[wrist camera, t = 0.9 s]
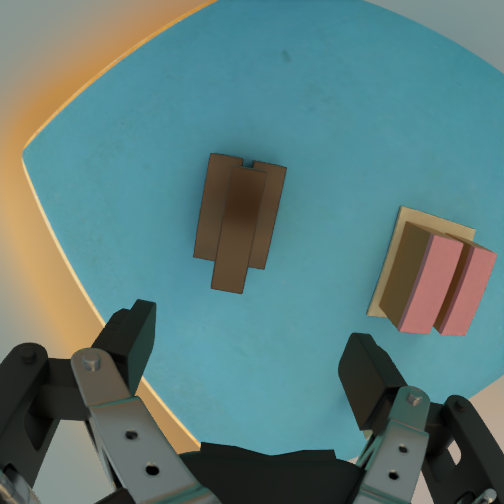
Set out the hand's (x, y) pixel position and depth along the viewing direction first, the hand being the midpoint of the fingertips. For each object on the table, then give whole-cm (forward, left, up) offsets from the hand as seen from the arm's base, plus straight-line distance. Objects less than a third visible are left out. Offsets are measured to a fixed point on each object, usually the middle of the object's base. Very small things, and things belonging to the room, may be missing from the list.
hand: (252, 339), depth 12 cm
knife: (-1, -1, -22) cm, 22 cm away
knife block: (-1, -1, -22) cm, 22 cm away
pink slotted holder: (+2, +23, -22) cm, 32 cm away
